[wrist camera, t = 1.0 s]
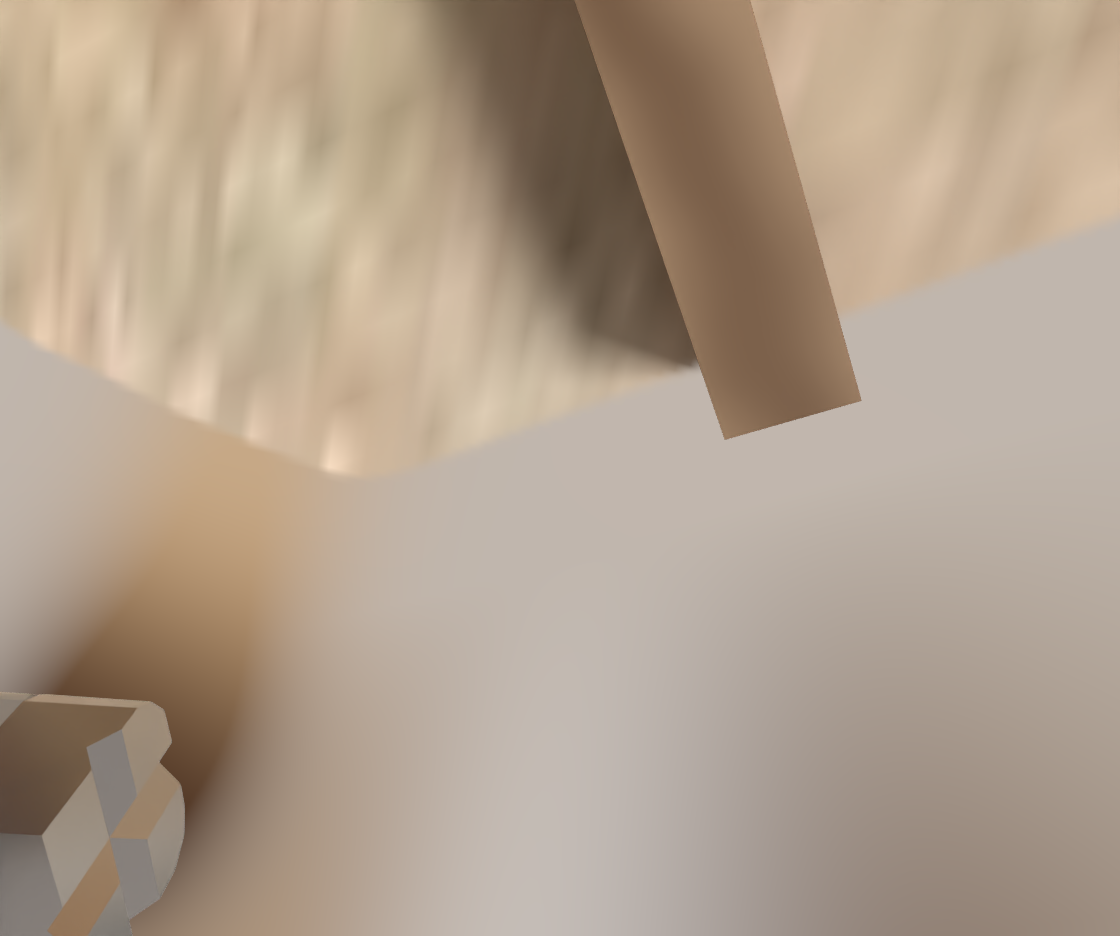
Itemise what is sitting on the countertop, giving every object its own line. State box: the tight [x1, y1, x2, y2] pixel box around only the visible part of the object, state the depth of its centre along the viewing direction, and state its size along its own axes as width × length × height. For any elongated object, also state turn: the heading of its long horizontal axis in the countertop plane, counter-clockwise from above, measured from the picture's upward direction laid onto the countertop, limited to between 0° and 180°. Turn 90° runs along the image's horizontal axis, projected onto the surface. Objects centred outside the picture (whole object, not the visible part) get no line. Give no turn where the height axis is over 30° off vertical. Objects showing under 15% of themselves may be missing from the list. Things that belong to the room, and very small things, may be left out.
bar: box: [574, 0, 861, 439], centre depth 27 cm, size 4×20×5 cm, turn 21°
